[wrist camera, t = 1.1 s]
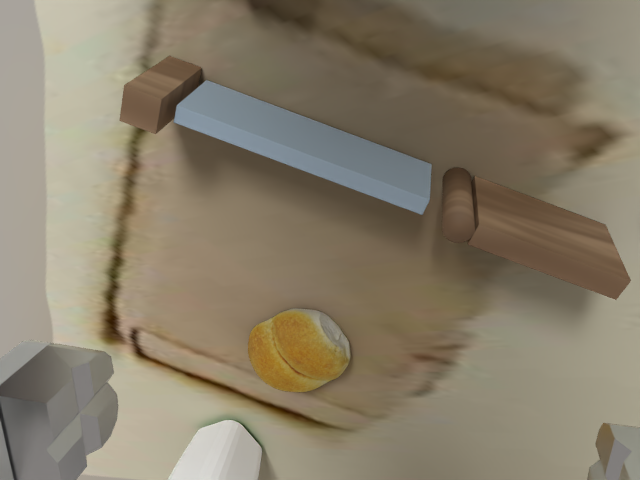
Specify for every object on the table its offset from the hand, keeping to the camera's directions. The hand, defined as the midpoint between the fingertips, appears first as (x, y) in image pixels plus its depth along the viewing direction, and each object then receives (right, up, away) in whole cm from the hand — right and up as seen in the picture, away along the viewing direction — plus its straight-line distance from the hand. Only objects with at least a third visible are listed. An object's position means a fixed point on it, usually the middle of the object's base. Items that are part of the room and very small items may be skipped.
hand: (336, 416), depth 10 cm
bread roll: (-2, -6, +44) cm, 44 cm away
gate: (0, +11, +32) cm, 34 cm away
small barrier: (+4, +9, +33) cm, 34 cm away
